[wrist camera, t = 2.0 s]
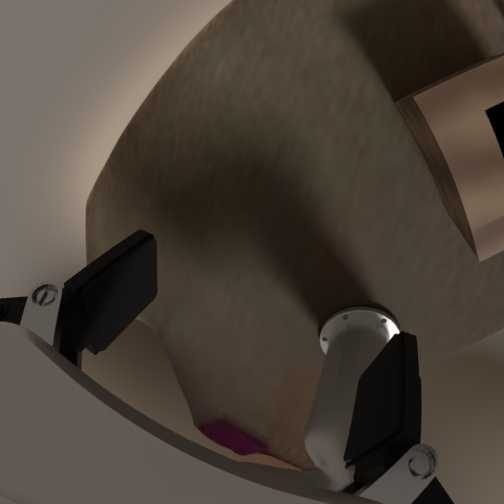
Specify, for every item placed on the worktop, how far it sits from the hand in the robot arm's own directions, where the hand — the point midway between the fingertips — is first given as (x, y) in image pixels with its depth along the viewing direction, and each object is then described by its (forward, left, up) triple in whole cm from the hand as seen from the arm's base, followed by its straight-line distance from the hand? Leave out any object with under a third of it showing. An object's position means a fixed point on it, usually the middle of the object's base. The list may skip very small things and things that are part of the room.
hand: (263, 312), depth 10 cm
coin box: (-4, -17, -24) cm, 30 cm away
